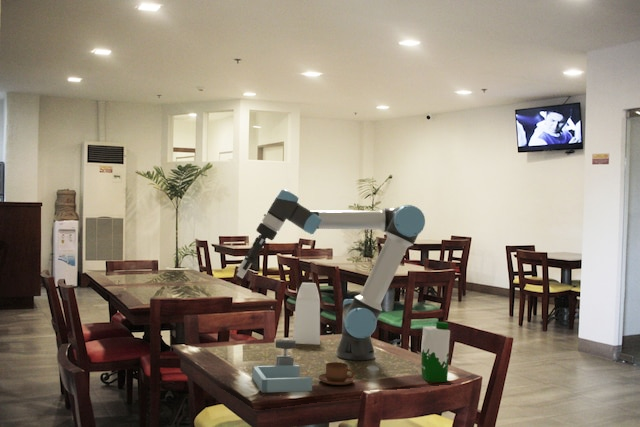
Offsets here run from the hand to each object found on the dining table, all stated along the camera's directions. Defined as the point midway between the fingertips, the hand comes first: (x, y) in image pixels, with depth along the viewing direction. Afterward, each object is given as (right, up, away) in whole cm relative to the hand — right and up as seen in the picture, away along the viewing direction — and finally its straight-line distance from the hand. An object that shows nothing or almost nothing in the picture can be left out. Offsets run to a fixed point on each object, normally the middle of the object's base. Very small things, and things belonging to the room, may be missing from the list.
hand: (239, 274), depth 240 cm
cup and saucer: (+36, -34, -28) cm, 57 cm away
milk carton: (+71, -35, -19) cm, 81 cm away
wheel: (+18, -27, -20) cm, 38 cm away
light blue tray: (+17, -33, -31) cm, 48 cm away
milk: (+25, -34, +41) cm, 59 cm away
